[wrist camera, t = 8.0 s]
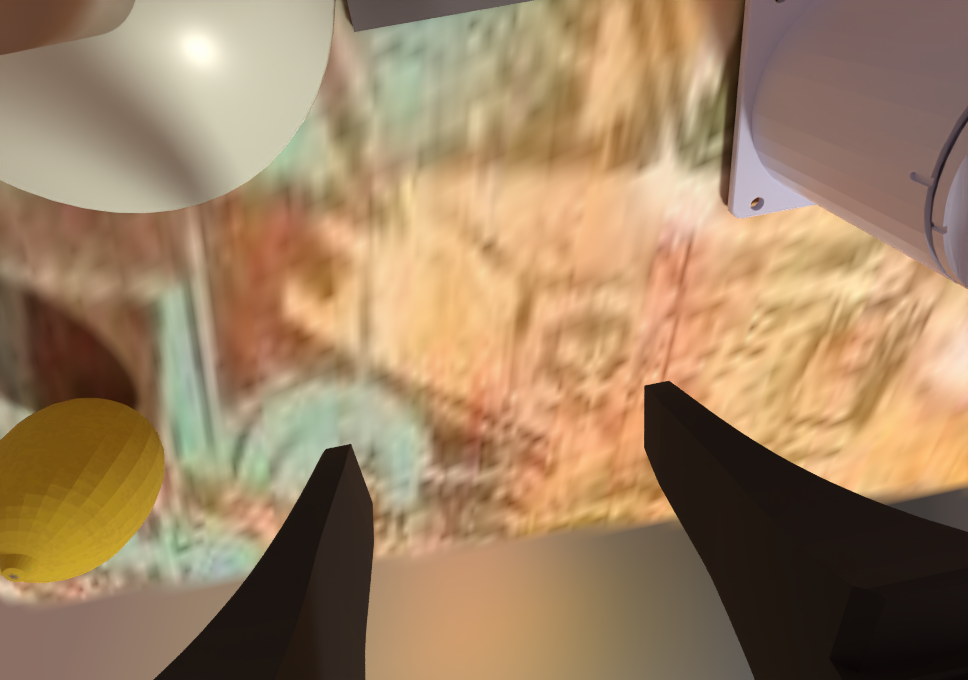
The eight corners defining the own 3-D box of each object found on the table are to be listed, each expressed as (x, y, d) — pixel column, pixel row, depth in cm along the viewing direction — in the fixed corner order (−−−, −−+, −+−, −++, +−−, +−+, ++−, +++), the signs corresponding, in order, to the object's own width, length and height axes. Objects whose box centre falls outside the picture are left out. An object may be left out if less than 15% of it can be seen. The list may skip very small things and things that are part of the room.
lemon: (17, 376, 23) (-141, 540, 17) (152, 346, 23) (48, 498, 17) (92, 472, 26) (-16, 644, 20) (212, 446, 26) (145, 609, 20)
